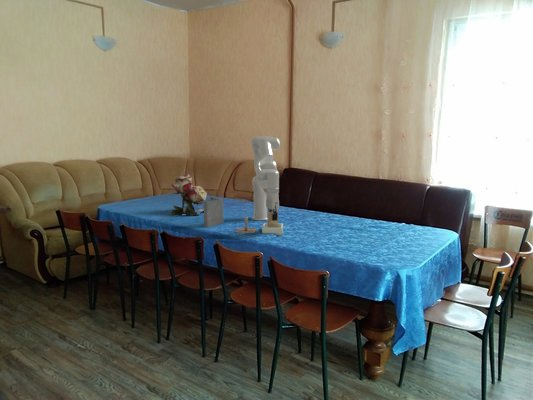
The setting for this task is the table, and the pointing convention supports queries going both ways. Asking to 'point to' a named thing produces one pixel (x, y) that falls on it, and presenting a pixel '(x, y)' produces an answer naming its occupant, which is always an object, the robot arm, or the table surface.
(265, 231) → the bin
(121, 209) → the table surface
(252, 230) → the stud base
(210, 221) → the grey rectangular slab
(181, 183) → the rose bouquet
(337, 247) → the table surface
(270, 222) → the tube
